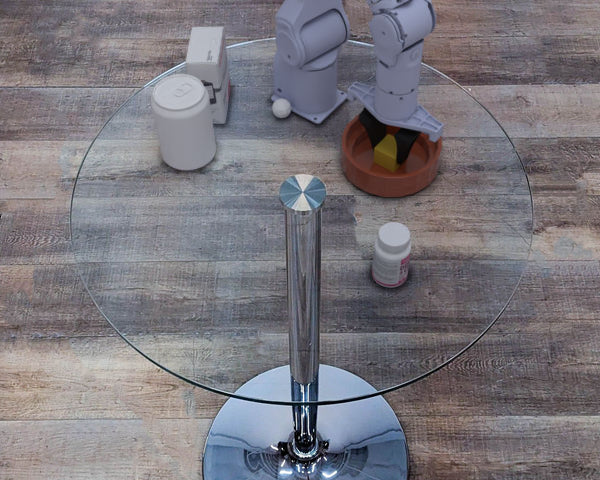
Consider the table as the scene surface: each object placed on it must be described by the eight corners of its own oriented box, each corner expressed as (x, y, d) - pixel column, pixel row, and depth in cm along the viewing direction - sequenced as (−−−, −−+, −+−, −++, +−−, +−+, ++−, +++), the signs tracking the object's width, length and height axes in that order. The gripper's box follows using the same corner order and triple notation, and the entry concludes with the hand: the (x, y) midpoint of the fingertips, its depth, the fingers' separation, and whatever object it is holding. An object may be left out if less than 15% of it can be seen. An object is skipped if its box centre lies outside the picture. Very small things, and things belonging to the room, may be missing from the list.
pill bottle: (405, 291, 114) (410, 251, 107) (369, 285, 115) (372, 245, 108) (409, 263, 117) (415, 222, 110) (374, 257, 117) (378, 216, 111)
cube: (373, 161, 127) (374, 148, 125) (387, 147, 128) (388, 133, 126) (393, 172, 126) (395, 158, 123) (407, 158, 127) (409, 144, 125)
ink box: (200, 86, 138) (191, 24, 128) (231, 86, 138) (224, 24, 128) (193, 124, 133) (183, 62, 123) (226, 124, 133) (218, 63, 123)
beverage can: (150, 155, 129) (136, 92, 120) (190, 126, 133) (180, 63, 123) (187, 181, 126) (176, 120, 116) (227, 151, 129) (220, 89, 120)
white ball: (293, 111, 134) (293, 96, 132) (287, 124, 133) (287, 109, 130) (276, 107, 135) (275, 92, 132) (270, 120, 133) (269, 105, 131)
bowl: (321, 170, 127) (321, 148, 123) (377, 116, 133) (378, 93, 130) (403, 215, 122) (405, 193, 118) (457, 156, 128) (461, 133, 124)
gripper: (460, 85, 114) (448, 159, 125) (369, 43, 119) (365, 117, 130) (431, 116, 111) (421, 188, 122) (339, 71, 116) (337, 145, 127)
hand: (390, 154), depth 126 cm, fingers closed on cube, 3 cm apart
